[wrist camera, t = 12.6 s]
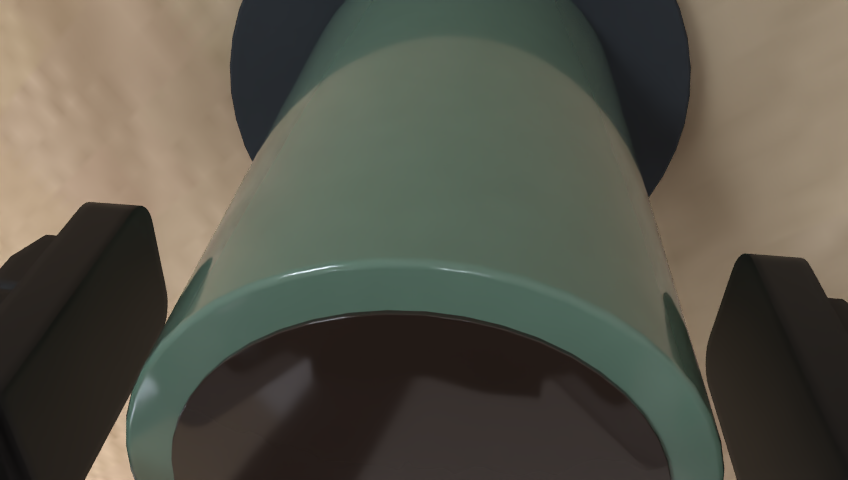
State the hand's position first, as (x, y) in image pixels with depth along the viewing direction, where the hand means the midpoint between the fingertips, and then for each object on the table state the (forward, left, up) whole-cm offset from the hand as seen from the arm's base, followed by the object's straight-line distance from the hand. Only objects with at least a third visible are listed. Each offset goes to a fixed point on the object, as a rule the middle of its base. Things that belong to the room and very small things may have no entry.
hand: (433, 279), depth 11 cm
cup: (0, 0, -5) cm, 5 cm away
